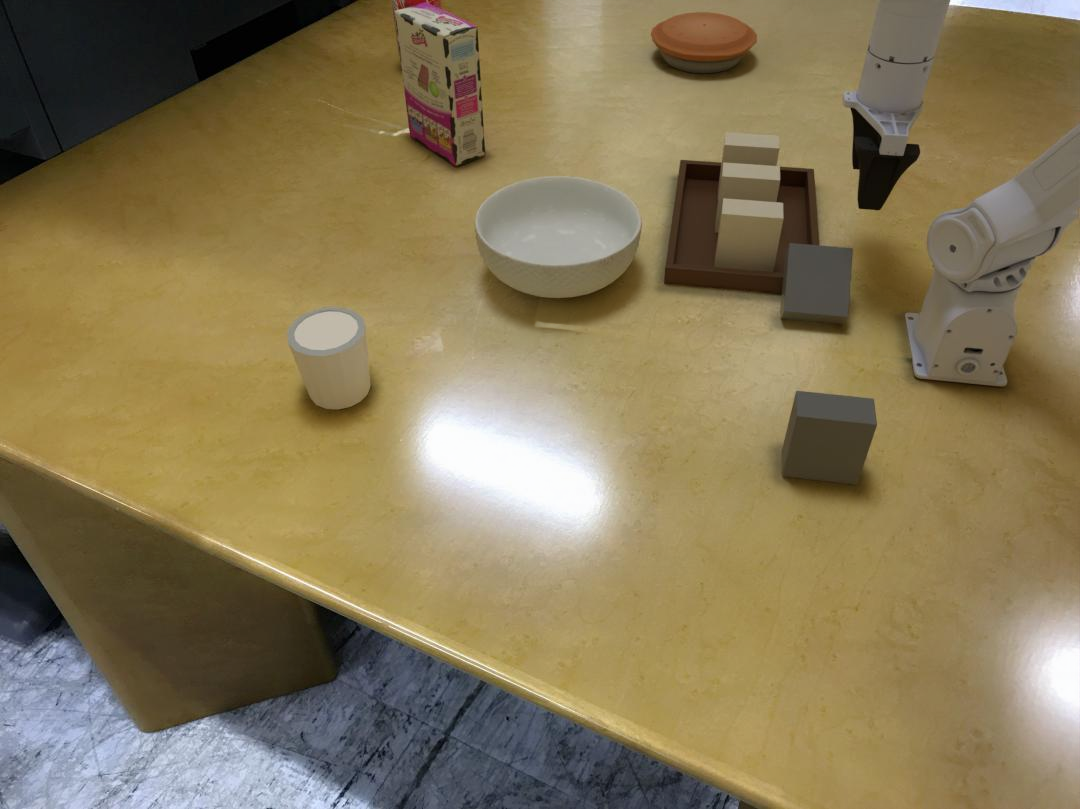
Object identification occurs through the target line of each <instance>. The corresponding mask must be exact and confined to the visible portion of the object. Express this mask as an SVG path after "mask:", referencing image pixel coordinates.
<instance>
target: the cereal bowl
mask: <svg viewBox="0 0 1080 809" xmlns="http://www.w3.org/2000/svg"><path fill="white" fill-rule="evenodd" d="M642 220H643V219H642V215H641V212H640V210H639V209H638V206H637V204H636V203H635V202H634V201H633V200H632V199H631V198H630V197H629V196H628V195H627V194H625V193H624V192H622V191H620V190H619V189H617V188H615V187H613V186H611V185H608V184H606V183H604V182H602V181H601V182H600V181H597V180H594V179H589V178H585V177H578V176H569V175H566V176H565V175H551V176H550V175H549V176H539V177H532V178H528V179H523V180H520V181H516V182H513V183H511V184H508V185H505V186H504V187H501V188H500V189H497V190H496V191H494V192H493V193H492V194H490V195H489V196H488V197H487V198H486V199H485V200H483V202H482V203H481V204H480V206H479V207H478V209H477V211H476V213H475V218H474V232H475V240H476V246H477V248H478V252H479V254H480V257H481V258H482V261H483V263H484V264H485V265H486V267H487V269H488V270H489V271H490V272H491V273H492V274H493V275H494V276H495V277H496V278H497V279H498V280H499V281H501V282H502V283H503V284H504V285H507V286H508V287H510V288H512V289H514V290H516V291H519V292H521V293H524V294H528V295H531V296H535V297H540V298H547V299H563V298H565V299H566V298H567V299H568V298H575V297H581V296H584V295H589V294H592V293H594V292H597V291H599V290H602V289H603V288H606V287H608V285H611V284H613V283H614V282H615V281H616V280H617V279H619V278H620V277H621V276H622V275H624V274H625V272H626V271H627V270H628V268H629V267H630V265H631V264H632V262H633V260H634V259H635V256H636V254H637V251H638V248H639V246H640V240H641V234H642V229H643V221H642Z"/></svg>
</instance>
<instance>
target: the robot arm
mask: <svg viewBox="0 0 1080 809" xmlns="http://www.w3.org/2000/svg"><path fill="white" fill-rule="evenodd" d="M950 3H951V0H878V2H877V6H876V11H875V15H874V19H873V24H872V27H871V32H870V35H869V40H868V45H867V50H866V54H865V57H864V58H865V59H864V63H863V67H862V71H861V75H860V80H859V83H858V89H857V90H855V91H845V92H843V95H842V99H841V100H842V106H843V107H844V108H849V109H850V113H851V117H852V150H851V152H852V153H851V164H852V169H853V170H858V172H859V173H858V185H857V207H858V209H859V210H870V211H881V210H882V208H883V207H884V205H885V204H886V202H887V200H888V199H889V197H890V195H891V193H892V191H893V190H894V187H895V186H896V184H897V182H898V180H899V179H900V178H901V177H902V176H903V174H905V172H906V171H907V170H908V169H909V168H910V167H911V166H912V165H913V164H914V163H916V162H917V161H918V159H919V158H920V155H921V148H920V144H918V143H908V140H909V133H910V131H911V129H912V128H913V126H914V125H915V123H916V121H917V120H918V118H919V116H920V114H921V113H922V110H923V107H924V103H925V102H924V100H923V99H924V96H925V92H926V87H927V85H928V81H929V76H930V75H931V70H932V67H933V64H934V60H935V56H936V54H937V49H938V46H939V42H940V38H941V35H942V32H943V28H944V25H945V21H946V17H947V14H948V11H949V7H950ZM1079 209H1080V123H1078V124H1077V125H1076V126H1075V127H1073V128H1072V129H1070V131H1068V133H1066V134H1065V135H1063V136H1062V137H1061V138H1060V139H1059V140H1058V141H1056V142H1055V143H1054V144H1053V145H1051V146H1050V147H1049V148H1047V150H1045V151H1044V152H1043V153H1042V154H1041V155H1039V156H1038V157H1037V158H1036V159H1034V160H1033V161H1032V162H1031V163H1030V164H1029V165H1028V166H1026V167H1025V168H1024V169H1022V170H1021V171H1020V172H1019V173H1018V174H1016V175H1015V176H1014V177H1012V178H1011V179H1009V180H1007V181H1005V182H1003V183H1002V184H1000V185H998V186H996V187H995V188H993V189H991V190H989V191H987V192H985V193H984V194H982V195H980V196H978V197H976V198H975V199H973V200H972V201H971V202H969V204H967V205H966V206H964V207H961V208H956V209H950V210H946V211H944V212H942V213H940V214H938V215H937V216H936V217H935V218H934V219H933V220H932V222H931V224H930V225H929V228H928V231H927V236H926V247H927V248H926V249H927V253H928V256H929V259H930V262H931V263H932V265H931V267H932V269H934V271H933V274H932V276H931V280H930V283H929V286H928V288H927V291H926V294H925V297H924V299H923V303H922V306H921V309H920V312H906V313H905V314H904V318H905V323H906V330H907V335H908V341H909V346H910V352H911V356H912V357H910V360H911V365H912V369H913V371H912V372H913V375H914V376H915V377H916V378H917V379H921V380H931V381H942V382H953V383H962V384H973V385H983V386H990V387H991V386H993V387H1000V388H1001V387H1002V388H1003V387H1006V386H1007V384H1008V379H1007V375H1006V372H1005V368H1004V365H1005V362H1006V361H1007V358H1008V356H1009V354H1010V352H1011V349H1012V348H1013V345H1014V343H1015V341H1016V338H1017V335H1018V331H1019V330H1018V329H1019V328H1018V321H1017V316H1016V302H1017V298H1018V295H1019V293H1020V291H1021V289H1022V286H1023V284H1024V281H1025V279H1026V277H1027V275H1028V272H1029V271H1030V270H1031V269H1032V267H1033V265H1034V262H1035V260H1036V258H1037V257H1040V256H1044V255H1046V254H1048V253H1049V252H1051V251H1052V250H1053V249H1054V248H1055V247H1056V246H1057V245H1058V243H1059V241H1060V239H1061V237H1062V235H1063V233H1064V232H1065V229H1066V228H1067V227H1068V226H1069V225H1070V224H1072V223H1073V222H1074V221H1076V220H1077V219H1079V218H1080V210H1079ZM909 318H911V319H909Z"/></svg>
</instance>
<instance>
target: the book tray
mask: <svg viewBox="0 0 1080 809" xmlns="http://www.w3.org/2000/svg"><path fill="white" fill-rule="evenodd" d="M721 162H722V161H721ZM721 162H719V161H705V160H689V159H680V160H679V166H678V174H677V182H676V187H675V195H674V203H673V210H672V216H671V224H670V232H669V238H668V244H667V245H668V246H667V251H666V252H667V253H666V260H665V267H664V277H663V284H664V285H675V286H676V285H677V286H687V287H696V288H697V287H698V288H708V289H709V288H710V289H711V288H712V289H720V290H731V291H732V290H733V291H743V292H754V293H767V294H775V295H782V286H783V274H784V263H785V254H786V251H787V249H788V246H789V244H790V243H795V244H807V245H820V232H819V220H818V219H819V218H818V206H817V193H816V192H817V191H816V180H815V179H816V178H815V168H808V167H807V168H806V167H794V166H793V167H792V166H780V185H779V190H778V195H777V201H776V202H779V203H783V216H784V219H783V224H782V229H781V235H780V240H779V245H778V250H777V255H776V261H775V266H774V271H773V272H764V271H752V270H741V269H729V268H717V267H715V255H716V248H717V240H718V233H715V224H716V214H717V206H718V200H717V198H718V186H719V178H720V170H721ZM820 246H821V245H820Z"/></svg>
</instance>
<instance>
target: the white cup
mask: <svg viewBox="0 0 1080 809" xmlns="http://www.w3.org/2000/svg"><path fill="white" fill-rule="evenodd" d="M367 335H368V334H367V327H366V322H365V319H364V317H362V316H361V315H360V314H359V313H358V312H357V311H355V310H352V309H350V308H346V307H340V306H339V307H338V306H327V307H322V308H317V309H313V310H311V311H308V312H306V313H304V314H302V315H300V316H299V317H298V318H297V319H295V320H294V321H293V322H292V323H290V326H289V328H288V330H287V331H286V339H287V345H288V347H289V349H290V352H291V354H292V356H293V359H294V361H295V364H296V366H297V368H298V369H297V370H298V371H299V373H300V376H301V378H302V381H303V384H304V387H305V388H306V391H307V393H308V395H309V399H310V400H311V401H312V402H313V403H314V404H315V405H316V406H318V407H320V408H323V409H325V410H342V409H347V408H351V407H353V406H355V405H357V404H359V403H360V402H362V401H363V400H364V399H366V397H367V396H368V395H369V392H370V389H371V386H372V385H371V374H370V372H371V371H370V362H369V361H370V360H369V349H368V348H369V347H368V336H367Z"/></svg>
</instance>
